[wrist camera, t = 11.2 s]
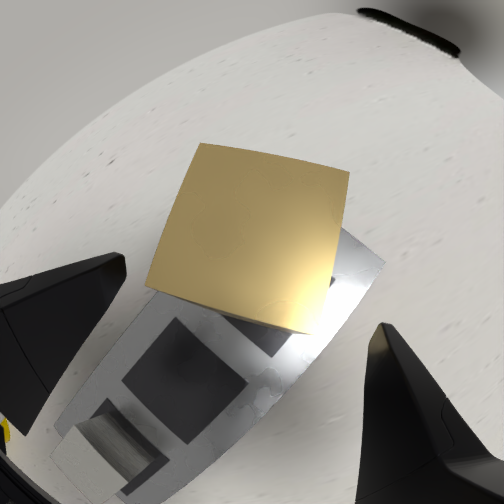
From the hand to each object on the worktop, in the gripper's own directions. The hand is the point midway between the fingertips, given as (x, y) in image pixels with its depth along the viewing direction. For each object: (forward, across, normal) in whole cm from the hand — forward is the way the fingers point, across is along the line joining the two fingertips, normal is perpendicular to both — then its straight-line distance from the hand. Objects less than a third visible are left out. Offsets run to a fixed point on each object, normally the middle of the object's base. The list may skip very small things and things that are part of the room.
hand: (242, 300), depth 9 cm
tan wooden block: (+7, 0, +4) cm, 8 cm away
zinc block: (-3, +7, +15) cm, 16 cm away
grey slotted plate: (+3, +3, +9) cm, 10 cm away
